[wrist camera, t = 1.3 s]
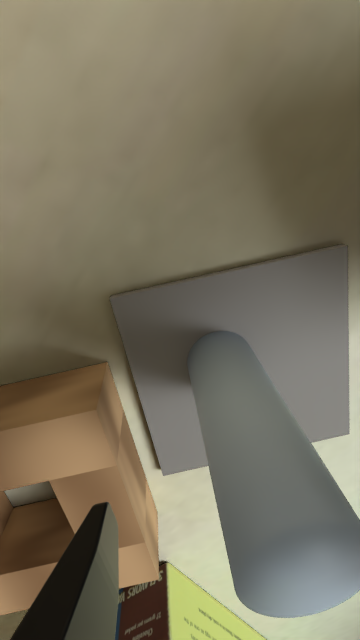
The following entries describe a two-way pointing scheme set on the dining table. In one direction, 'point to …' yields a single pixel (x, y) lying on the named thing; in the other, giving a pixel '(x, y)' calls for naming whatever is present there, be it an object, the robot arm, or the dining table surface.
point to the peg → (270, 488)
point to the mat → (260, 333)
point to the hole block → (69, 479)
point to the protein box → (176, 612)
